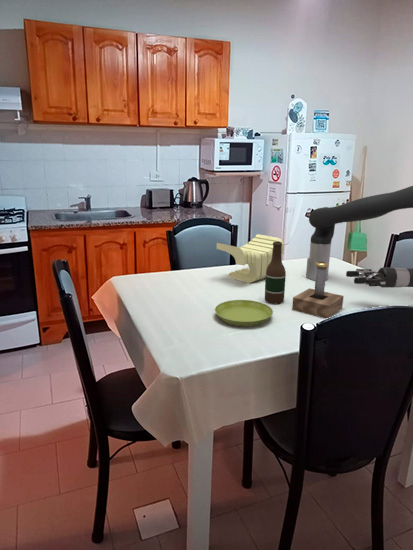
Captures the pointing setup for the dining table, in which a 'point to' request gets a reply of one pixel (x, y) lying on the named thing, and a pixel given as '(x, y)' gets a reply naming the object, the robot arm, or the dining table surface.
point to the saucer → (243, 312)
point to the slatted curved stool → (252, 257)
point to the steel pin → (320, 280)
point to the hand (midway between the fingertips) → (350, 277)
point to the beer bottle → (275, 277)
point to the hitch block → (317, 303)
